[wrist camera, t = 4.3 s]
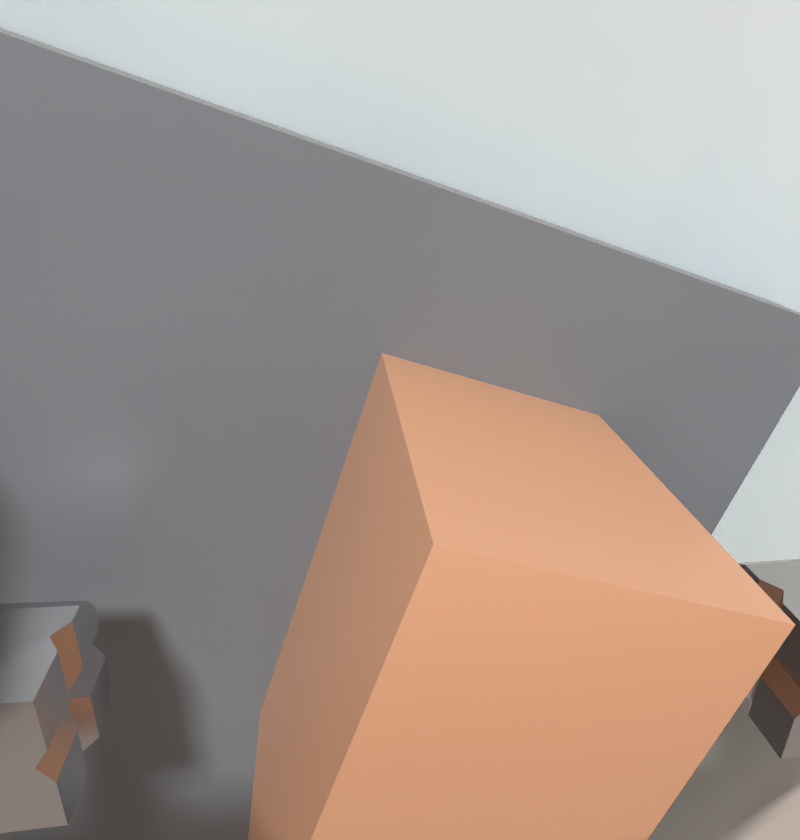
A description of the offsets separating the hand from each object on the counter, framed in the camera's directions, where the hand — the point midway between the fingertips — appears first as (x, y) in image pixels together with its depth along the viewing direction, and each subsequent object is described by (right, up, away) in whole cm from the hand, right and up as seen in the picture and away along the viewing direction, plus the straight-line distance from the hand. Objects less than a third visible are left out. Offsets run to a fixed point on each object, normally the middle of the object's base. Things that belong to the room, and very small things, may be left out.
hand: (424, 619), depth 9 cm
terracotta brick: (0, 0, +1) cm, 1 cm away
